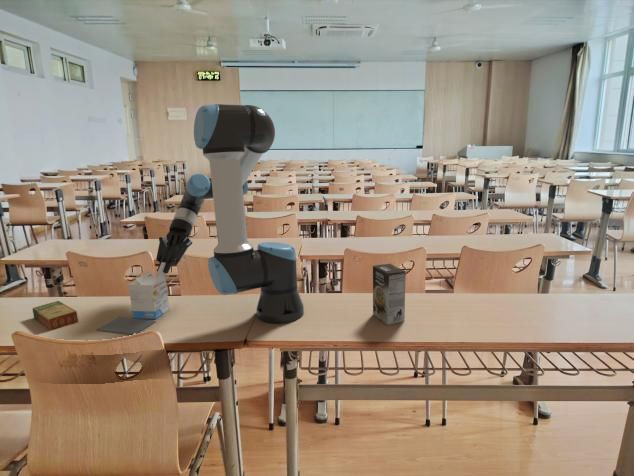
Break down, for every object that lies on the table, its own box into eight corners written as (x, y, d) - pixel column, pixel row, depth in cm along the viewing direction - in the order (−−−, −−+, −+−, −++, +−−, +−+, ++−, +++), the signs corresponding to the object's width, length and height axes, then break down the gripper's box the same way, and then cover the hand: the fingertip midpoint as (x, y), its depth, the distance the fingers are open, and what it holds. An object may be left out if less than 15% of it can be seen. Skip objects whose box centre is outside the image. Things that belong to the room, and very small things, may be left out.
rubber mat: (155, 322, 134) (155, 321, 134) (134, 335, 125) (134, 333, 125) (119, 317, 138) (119, 316, 138) (97, 330, 129) (96, 328, 129)
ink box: (155, 319, 136) (150, 279, 133) (132, 318, 137) (126, 279, 134) (170, 309, 144) (165, 271, 141) (147, 308, 146) (142, 270, 143)
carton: (50, 332, 130) (47, 319, 129) (33, 319, 140) (31, 307, 139) (79, 322, 136) (76, 310, 135) (61, 311, 146) (58, 299, 145)
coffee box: (372, 314, 134) (371, 265, 131) (389, 310, 136) (389, 262, 133) (387, 325, 126) (387, 273, 122) (405, 321, 128) (406, 270, 125)
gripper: (203, 229, 156) (180, 287, 145) (173, 228, 161) (148, 284, 149) (193, 217, 150) (168, 277, 139) (162, 217, 154) (136, 274, 143)
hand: (158, 281), depth 144 cm, fingers closed
